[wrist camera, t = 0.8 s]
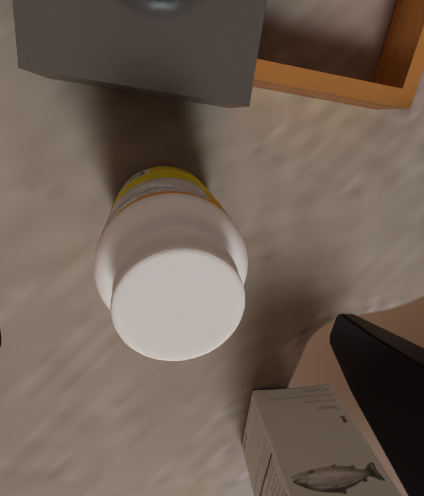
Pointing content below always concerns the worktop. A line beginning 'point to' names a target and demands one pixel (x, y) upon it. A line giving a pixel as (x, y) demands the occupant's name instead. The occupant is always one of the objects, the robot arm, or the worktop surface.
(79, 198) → the worktop surface
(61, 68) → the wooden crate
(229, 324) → the supplement bottle
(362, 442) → the supplement box
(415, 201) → the worktop surface
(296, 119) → the worktop surface
